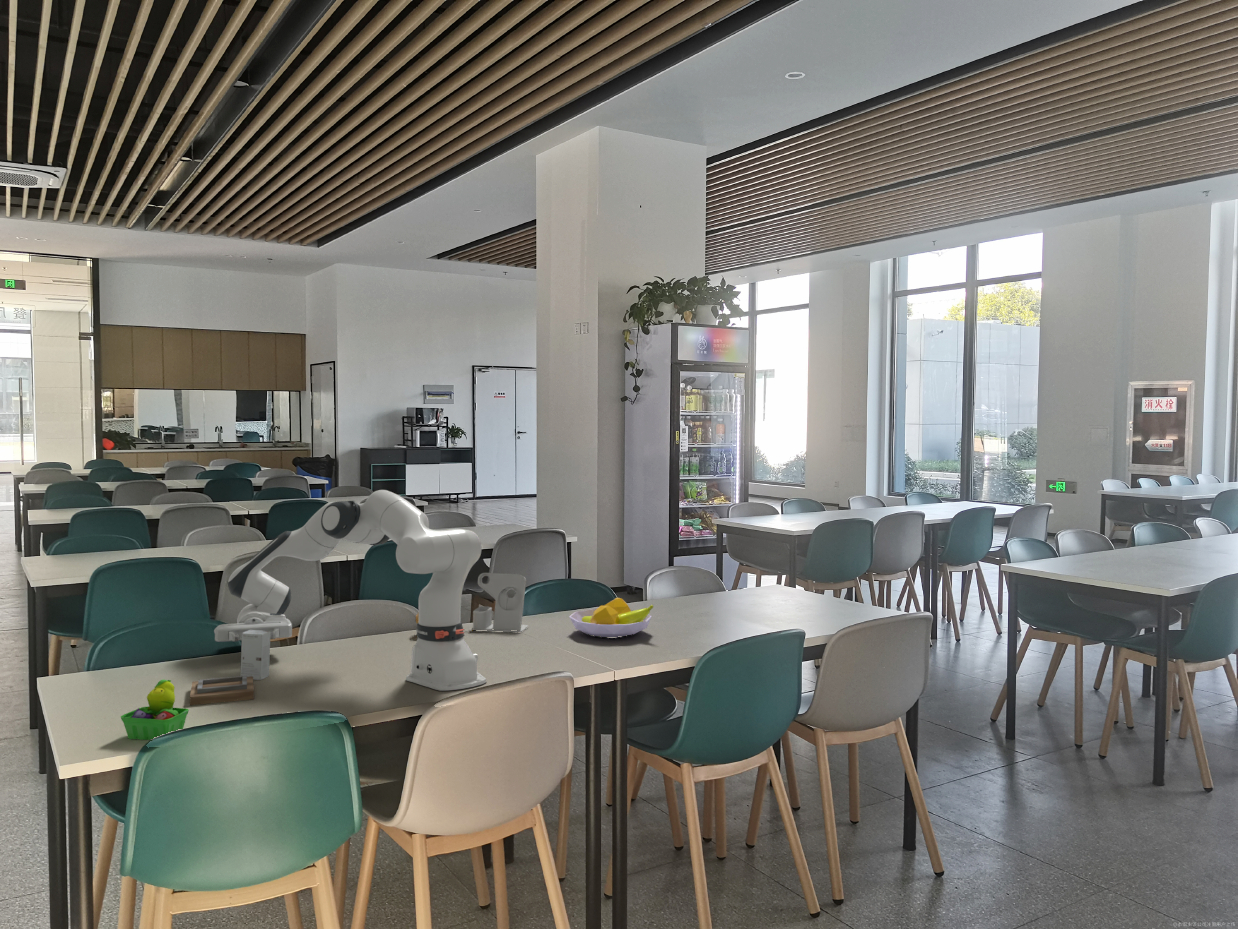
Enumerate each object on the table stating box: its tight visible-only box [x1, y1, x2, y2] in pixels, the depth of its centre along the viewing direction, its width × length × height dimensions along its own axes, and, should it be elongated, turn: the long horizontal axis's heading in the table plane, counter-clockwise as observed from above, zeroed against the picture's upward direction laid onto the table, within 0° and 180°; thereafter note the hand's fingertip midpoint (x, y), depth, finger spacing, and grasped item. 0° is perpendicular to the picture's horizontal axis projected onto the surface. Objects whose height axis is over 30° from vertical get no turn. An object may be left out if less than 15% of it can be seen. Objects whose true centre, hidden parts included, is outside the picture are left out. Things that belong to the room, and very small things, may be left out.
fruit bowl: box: [568, 597, 654, 638], centre depth 291 cm, size 28×27×11 cm
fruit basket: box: [120, 679, 190, 741], centre depth 190 cm, size 11×9×11 cm
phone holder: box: [471, 572, 529, 633], centre depth 297 cm, size 17×10×18 cm, turn 80°
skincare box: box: [240, 630, 271, 681], centre depth 236 cm, size 6×4×12 cm
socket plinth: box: [189, 675, 255, 706], centre depth 220 cm, size 14×14×3 cm
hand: (254, 637), depth 247 cm, fingers open, 8 cm apart
